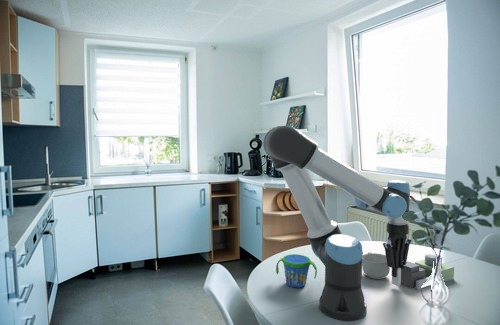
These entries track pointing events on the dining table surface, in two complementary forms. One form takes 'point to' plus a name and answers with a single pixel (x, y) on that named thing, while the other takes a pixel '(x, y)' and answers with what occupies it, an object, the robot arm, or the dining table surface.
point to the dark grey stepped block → (411, 274)
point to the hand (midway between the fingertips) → (396, 284)
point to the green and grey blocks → (427, 264)
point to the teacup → (375, 265)
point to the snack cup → (296, 269)
